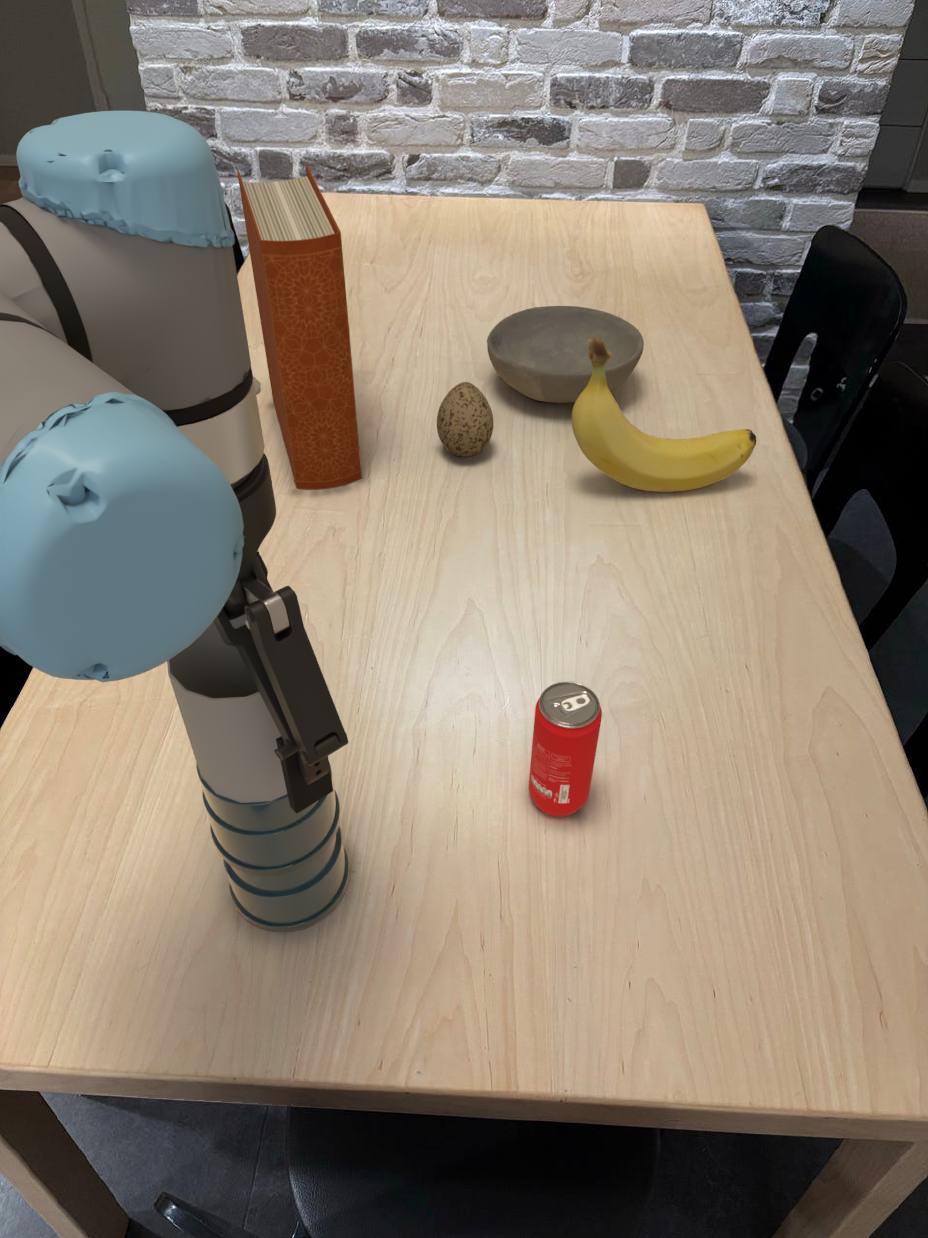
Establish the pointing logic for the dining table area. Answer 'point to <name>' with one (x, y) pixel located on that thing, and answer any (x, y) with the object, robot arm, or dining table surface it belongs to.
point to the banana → (649, 442)
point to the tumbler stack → (280, 858)
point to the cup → (227, 720)
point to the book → (304, 327)
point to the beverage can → (564, 747)
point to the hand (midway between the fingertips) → (255, 733)
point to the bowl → (561, 350)
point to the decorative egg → (465, 420)
